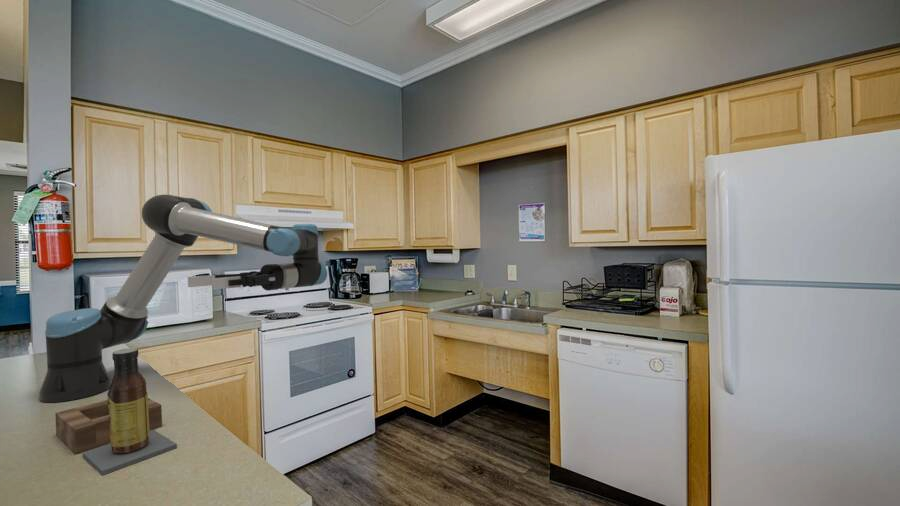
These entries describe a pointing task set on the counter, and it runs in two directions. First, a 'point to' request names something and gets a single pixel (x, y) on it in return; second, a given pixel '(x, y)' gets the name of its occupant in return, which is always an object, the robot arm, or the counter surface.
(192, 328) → the counter surface
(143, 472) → the counter surface
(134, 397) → the sauce bottle
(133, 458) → the mat
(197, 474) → the counter surface
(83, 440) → the rectangular frame
